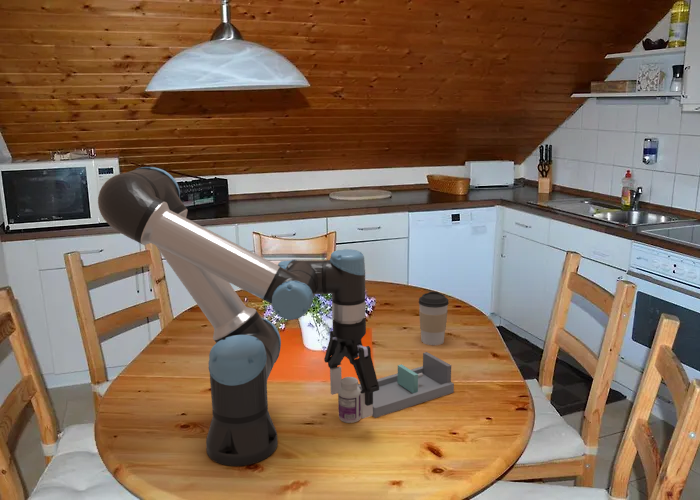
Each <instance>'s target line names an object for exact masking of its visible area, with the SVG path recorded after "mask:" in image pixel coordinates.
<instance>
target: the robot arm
mask: <svg viewBox="0 0 700 500" xmlns="http://www.w3.org/2000/svg"><path fill="white" fill-rule="evenodd" d="M179 186H180V185H179V184H178V182H177V180H176V179H175V178H174V177H173V175H171V174H170V173H169V172H167V171H166V170H164V169H162V168H158V167H154V166H144V167H143V166H142V167H138V168H135V169H133V170H130V171H127V172H123V173H118V174H115V175H113V176H112V177H110V178H109V179H107V180H106V181H105V182H104V184H103V185H102V186H101V188H100V190H99V192H98V197H97V204H98V209H99V213H100V215H101V217H102V218H103V220H104V221H105V222H106V224H108V225H109V226H110V227H111V228H112V229H114V230H115V231H117V232H118V233H120V234H122V235H124V236H126V238H129V239H130V240H132V241H134V242H137V243H139V244H141V245H143V246H145V245H149V244H152V245H154V246H156V248H157V249H158V250H159V252H160V254H161V255H162V257H163V258H164V259H165V260H166V262H167V264H168V265H169V266H170V268H171V269H172V271H173V272H174V273H175V275H176V276H177V278H178V279H179V280H180V282H181V284H182V285H183V286H184V288H185V289H186V290H187V292H188V293H189V295H190V296H191V297H192V300H194V302H195V304H196V305H197V306H198V307H199V309H200V310H201V312H202V313H203V315H204V316H205V317H206V319H207V320H208V322H209V323H210V324H211V326H212V327H213V329H214V330H213V337H212V339H213V340H214V342H215V344H214V345H213V346H212V347H211V349H210V351H209V353H208V354H209V355H208V356H209V357H208V372H209V381H210V382H209V383H210V394H211V396H210V397H211V409H212V418H211V421H210V425H209V429H208V431H207V432H208V433H207V435H206V439H205V441H206V442H205V444H206V445H205V447H206V454H207V456H208V458H210V460H212V461H213V462H215V463H217V464H220V465H225V466H229V467H230V466H231V467H238V466H239V467H240V466H249V465H253V464H256V463H259V462H261V461H264V460H265V459H267V458H269V457H270V456H272V455H273V453H274V452H276V450H277V447H278V443H279V442H278V432H277V429H276V427H275V425H274V422H273V420H272V416H271V415H270V413H269V404H268V402H269V401H268V379H269V377H270V374H271V372H272V371H273V368H274V366H275V363H276V362H277V361H278V359H279V356H280V352H281V347H282V339H281V334H280V332H279V330H278V328H277V327H276V325H275V324H274V323H273V322H272V321H270V320H269V319H267V318H263V317H262V316H261V315H260V313H259V312H258V311H257V308H253V307H247V306H246V305H245V303H244V302H243V301H242V299H241V297H240V296H239V294H238V293H237V292H236V290H235V289H234V287H233V286H236V287H238V288H240V289H241V290H243V291H245V292H248V293H249V294H250V295H251V294H252V295H253V296H255V297H258V298H260V299H261V300H262V301H265V302H267V303H269V304H271V306H272V308H273V310H274V312H275V313H276V314H277V315H278V316H279V317H280V318H283V319H284V320H289V321H290V320H291V321H293V320H298V319H300V318H302V317H304V315H305V314H306V313H307V312H308V311H309V309H310V308H311V306H312V305H313V301H314V297H315V295H328V294H329V295H331V311H332V312H331V318H332V330H331V331H329V333H330V334H329V340H328V343H327V348H326V351H325V355H324V359H323V360H324V363H327V366H328V368H329V377H330V379H329V381H330V394H331V395H332V396H333V395H338V390H339V388H340V387H341V380H342V379H343V378H342V377H343V376H342V366H341V365H342V363H341V362H342V361H343V359H344V358H346V359H348V361H349V362H350V365H353V368H354V371H355V373H356V377H357V380H358V383H359V384H361V387H362V390H361V391H360V397H361V419H362V420H363V419H366V418H369V417H373V416H372V415H373V392H375V391H378V390H379V385H378V381H377V379H378V378H377V374H376V371H375V367H374V362H373V358H372V353H371V352H372V350H371V347H370V345H367V346H364V345H363V343H362V339H363V338H364V336H365V335H366V334H367V324H366V323H367V322H366V318H365V317H366V265H365V264H366V263H365V256H364V253H362V251H359V250H356V249H347V248H345V249H338V250H335V251H332V252H331V254H330V258H329V259H327V260H326V259H325V260H320V259H319V260H312V259H311V260H306V259H304V260H303V259H302V260H299V259H291V260H281V261H280V262H278V264H277V263H274V262H272V261H270V260H268V259H266V258H264V257H263V256H261V255H259V254H256V253H254V252H253V251H251V250H249V249H247V248H245V247H243V246H241V245H239V244H237V243H235V242H233V241H231V240H230V239H227V238H226V237H223V236H221V235H219V234H217V233H216V232H213V231H211V230H210V229H207V228H206V227H204V226H202V225H200V224H198V223H197V222H194V221H193V220H191V219H189V218H187V215H188V209H187V207H186V205H185V204H184V203H183V202H182V200H181V190H180V187H179ZM232 285H233V286H232Z"/></svg>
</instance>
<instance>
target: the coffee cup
mask: <svg viewBox="0 0 700 500" xmlns="http://www.w3.org/2000/svg"><path fill="white" fill-rule="evenodd" d="M418 305H419V306H418V307H419V310H418V311H419V314H418V315H419V329H420V341H421V343H422V342H423V343H422V344H425V345H429V346H440V345H443V344H444V342H445V333H446V329H447V319H448V305H449V298H447V297H446V296H445V294H442V293H440V292H438V291H433V290H431V291H429V292H426V293H424V294H422V296H421V297H419V298H418Z"/></svg>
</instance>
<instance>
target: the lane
mask: <svg viewBox="0 0 700 500" xmlns="http://www.w3.org/2000/svg"><path fill="white" fill-rule="evenodd" d="M410 370H412V371H413V372H415V373H417V374H419V373H423V377H420V378H418V392H416V393H412V392H410V391H408V390H407V389H405V388H404V387H402V386H401V385H399V384H398V383H397V380H398V372H396V373H394V374H391V375H388V376H384V377H380V378H377V381H378V385H379V390H378V391H375V392H373V415H372V416H371V417H373V418H375V419H377V418H379V417H380V418H381V417H382V416H386V415H388V414H392V413H394V412H398V411H401V410H405V409H407V408H410V407H413V406H417V405H419V404H423V403H425V402H428V401H432V400H435V399H438V398H441V397H444V396H447V395H450V394H454V391H455V389H454V388H455V383H454V382H452V364H451V363H448V362H446V361H444V360H442V359H440V358H438V356H435V355H433V354H431V353H429V352H427V351H426V352H423V353H422V366H420V367H419V366H418V367H415V368H412V369H410ZM358 387H359V388H360V390H362V387H361V384H360V383H358Z"/></svg>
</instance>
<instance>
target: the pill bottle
mask: <svg viewBox="0 0 700 500" xmlns="http://www.w3.org/2000/svg"><path fill="white" fill-rule="evenodd" d="M358 385H359V379H358V378H356V377H354V376H345V377H343V378H342V380H341V387H340V388H339V390H338V393H337V400H338V402H337V403H338V406H337V407H338V411H337V412H338V419H339V420H340V421H341V422H342V423H346V424H351V423H357V422H359V421H360V420H361V419H362V418H361V397H360V391H361V390H360V388H359V387H358Z"/></svg>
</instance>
